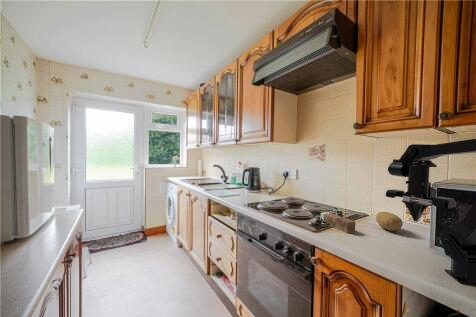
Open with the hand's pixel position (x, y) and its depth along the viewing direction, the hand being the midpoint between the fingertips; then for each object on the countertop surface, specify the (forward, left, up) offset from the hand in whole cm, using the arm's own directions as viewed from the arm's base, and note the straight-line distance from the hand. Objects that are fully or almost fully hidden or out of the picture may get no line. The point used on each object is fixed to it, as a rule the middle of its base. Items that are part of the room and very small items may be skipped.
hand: (416, 221), depth 74 cm
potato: (+26, -1, -12) cm, 29 cm away
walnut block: (+14, +18, -10) cm, 25 cm away
